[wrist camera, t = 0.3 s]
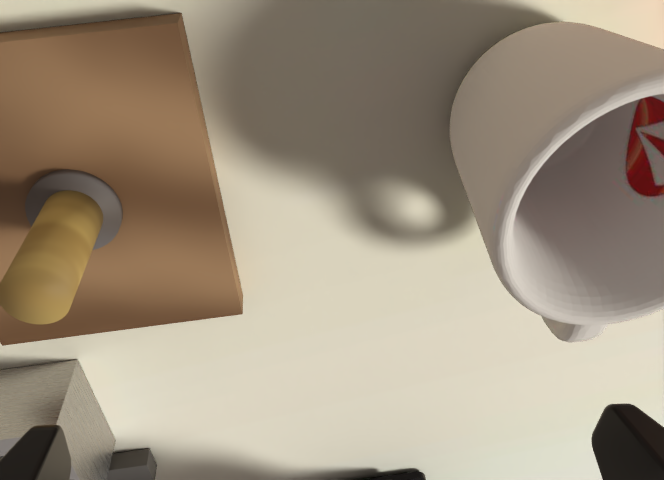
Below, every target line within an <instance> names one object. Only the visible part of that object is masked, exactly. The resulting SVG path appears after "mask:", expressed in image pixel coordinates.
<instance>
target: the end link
mask: <svg viewBox="0 0 664 480" xmlns="http://www.w3.org/2000/svg"><path fill="white" fill-rule="evenodd" d="M38 425H59V426H61V427H62V429H63V431H64V434H65V438H66V442H67V445H68V449H69V452H70V456H71V474H70V479H69V480H107V476H108V472H109V467H110V463H111V458H112V454H113V450H114V445H115V441H116V440H115V438H114V436H113V434H112V432H111V430H110V428H109V426H108V423H107V421H106V419H105V417H104V415H103V413H102V411H101V408H100V406H99V404H98V402H97V400H96V398H95V396H94V394H93V391H92V389H91V387H90V385H89V383H88V381H87V379H86V376H85V374H84V372H83V370H82V368H81V366H80V364H79V362H78V360H71V361H64V362H56V363H49V364H41V365H34V366H26V367H19V368H11V369H4V370H0V459H1V458H2V457H3V456H4V455H5V454H6V453H7V452H8V451H9V450H10V449H11V448H12V447H13V446H14V445H15V444H16V442H17V441H18V440H19V439H20V438H21V437H22V436H23V435H24V434H25V433H26V432H27V431H28V430H29V429H30V428H32V427H34V426H38Z"/></svg>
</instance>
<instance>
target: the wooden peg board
mask: <svg viewBox="0 0 664 480" xmlns="http://www.w3.org/2000/svg"><path fill="white" fill-rule="evenodd" d="M242 313H243V294H242V289H241V285H240V280H239V275H238V271H237V266H236V262H235V257H234V252H233V248H232V243H231V239H230V234H229V229H228V225H227V220H226V216H225V211H224V206H223V202H222V197H221V193H220V188H219V183H218V179H217V174H216V170H215V165H214V160H213V156H212V151H211V147H210V142H209V137H208V133H207V128H206V124H205V119H204V114H203V110H202V105H201V101H200V96H199V91H198V87H197V82H196V78H195V73H194V68H193V64H192V59H191V55H190V50H189V45H188V41H187V36H186V32H185V27H184V22H183V18H182V13H177V14H168V15H159V16H149V17H140V18H131V19H122V20H113V21H103V22H94V23H85V24H76V25H67V26H57V27H48V28H39V29H30V30H21V31H11V32H2V33H0V342H1V344H2V345H10V344H18V343H25V342H33V341H41V340H48V339H56V338H64V337H71V336H79V335H86V334H94V333H102V332H109V331H117V330H125V329H132V328H140V327H148V326H155V325H163V324H170V323H178V322H186V321H193V320H201V319H209V318H216V317H224V316H231V315H239V314H242Z"/></svg>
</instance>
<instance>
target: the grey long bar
mask: <svg viewBox="0 0 664 480" xmlns="http://www.w3.org/2000/svg"><path fill="white" fill-rule="evenodd" d="M156 467H157V465H156V462H155V460H154V458H153V455H152V453H151V450H150V448H149V449H142V450H135V451H128V452H120V453H113V454H112V458H111V463H110V467H109V472H108V476H107V480H155V473H156Z"/></svg>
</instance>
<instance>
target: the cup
mask: <svg viewBox="0 0 664 480" xmlns="http://www.w3.org/2000/svg"><path fill="white" fill-rule="evenodd" d="M450 142H451V149H452V153H453V156H454V160H455V163H456V166H457V169H458V172H459V175H460V177H461V180H462V183H463V185H464V188H465V191H466V194H467V196H468V199H469V202H470V205H471V207H472V210H473V213H474V215H475V218H476V221H477V224H478V226H479V229H480V232H481V235H482V237H483V240H484V243H485V245H486V248H487V251H488V254H489V256H490V259H491V262H492V265H493V267H494V269H495V271H496V274H497V275H498V277H499V279H500V281H501V283H502V284H503V285H504V287H505V288H506V289H507V291H508V292H509V293H510V294H511V295H512V296H513V297H514V298H515V299H516V300H517V301H518V302H519V303H520V304H522V305H523V306H525V307H526V308H528V309H529V310H531V311H533V312H534V313H536V314H538V315H541V316H542V318H543V320H544V322H545V324H546V325H547V326H548V328H549V329H550V330H551V332H552V333H553V334H554V335H555V336H556V337H557V338H558V339H560V340H562V341H566V342H579V341H587V340H591V339H594V338H596V337H598V336H599V335H601V334H602V333H603V331H604V330H605V329H606V327H607V325H608V324H613V323H619V322H624V321H629V320H633V319H637V318H640V317H644V316H647V315H650V314H652V313H655V312H657V311H660V310H662V309H664V49H661V48H658V47H655V46H652V45H649V44H646V43H643V42H640V41H637V40H634V39H631V38H628V37H625V36H622V35H619V34H616V33H613V32H610V31H607V30H604V29H601V28H597V27H594V26H590V25H586V24H580V23H572V22H552V23H544V24H539V25H534V26H531V27H528V28H525V29H522V30H520V31H518V32H515V33H513V34H511V35H509V36H507V37H506V38H504V39H502V40H501V41H499V42H498V43H496V44H495V45H494V46H492V47H491V48H490V49H489V50H488V51H486V52H485V53H484V54H483V55H482V56H481V57H480V58H479V59H478V60H477V61H476V63H475V64H474V65H473V66H472V67H471V69H470V70H469V72H468V73H467V74H466V76H465V78H464V79H463V81H462V83H461V85H460V87H459V89H458V91H457V94H456V97H455V99H454V102H453V106H452V110H451V116H450Z"/></svg>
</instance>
